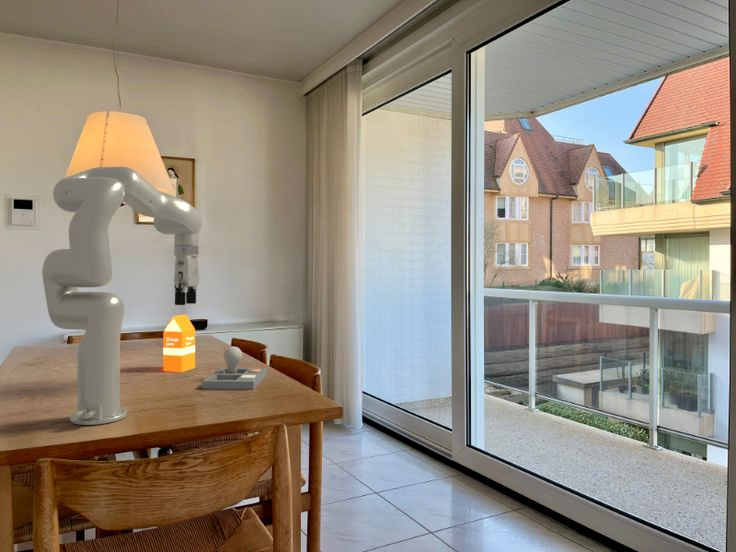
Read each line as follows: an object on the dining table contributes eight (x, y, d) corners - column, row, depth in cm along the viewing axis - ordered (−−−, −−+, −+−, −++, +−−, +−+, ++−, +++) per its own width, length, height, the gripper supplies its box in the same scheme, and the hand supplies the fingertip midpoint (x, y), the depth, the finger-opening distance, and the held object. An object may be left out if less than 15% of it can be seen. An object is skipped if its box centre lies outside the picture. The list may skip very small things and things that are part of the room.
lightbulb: (236, 381, 178) (237, 348, 177) (219, 379, 179) (220, 347, 179) (244, 377, 184) (245, 345, 183) (228, 376, 185) (229, 344, 185)
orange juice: (163, 371, 194) (162, 316, 194) (177, 366, 203) (177, 314, 202) (182, 372, 192) (182, 316, 192) (195, 367, 201) (195, 314, 200)
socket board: (253, 389, 166) (253, 380, 166) (202, 389, 166) (202, 380, 166) (266, 375, 188) (266, 366, 188) (221, 375, 188) (221, 366, 188)
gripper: (188, 250, 165) (187, 305, 165) (206, 253, 183) (205, 303, 183) (164, 250, 166) (163, 305, 165) (184, 253, 183) (184, 303, 183)
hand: (185, 304), depth 174 cm, fingers open, 9 cm apart
